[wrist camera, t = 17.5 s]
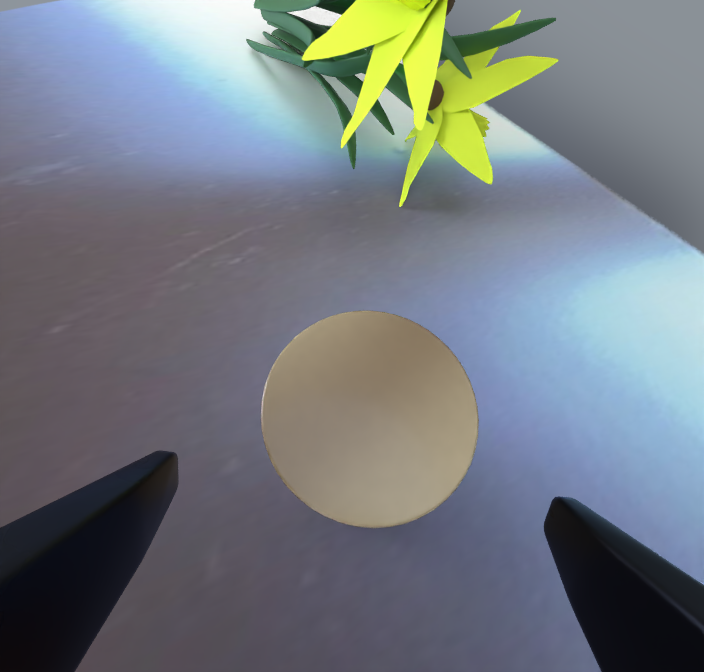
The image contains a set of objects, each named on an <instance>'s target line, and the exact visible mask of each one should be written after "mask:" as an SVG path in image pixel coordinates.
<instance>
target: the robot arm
mask: <svg viewBox="0 0 704 672" xmlns="http://www.w3.org/2000/svg"><path fill="white" fill-rule="evenodd" d="M177 487H178V458H177V454H176V453H174V452H168V451H156V452H154V453H152V454H150V455H148V456H146V457H144V458H141V459H139V460H137V461H135V462H133V463H131V464H129V465H127V466H125V467H123V468H121V469H119V470H117V471H115V472H113V473H111V474H109V475H107V476H105V477H103V478H101V479H99V480H97V481H95V482H93V483H91V484H89V485H87V486H85V487H83V488H81V489H78V490H76V491H74V492H72V493H70V494H68V495H66V496H64V497H62V498H60V499H58V500H56V501H54V502H52V503H50V504H48V505H46V506H44V507H42V508H40V509H38V510H36V511H34V512H32V513H30V514H28V515H26V516H24V517H22V518H19V519H17V520H15V521H13V522H11V523H9V524H7V525H5V526H3V527H1V528H0V672H75V670H76V669H77V667H78V665H79V664H80V662H81V660H82V659H83V657H84V655H85V654H86V652H87V650H88V649H89V647H90V646H91V644H92V642H93V641H94V639H95V637H96V636H97V634H98V632H99V631H100V629H101V627H102V626H103V624H104V623H105V621H106V619H107V618H108V616H109V614H110V613H111V611H112V609H113V608H114V606H115V604H116V603H117V601H118V600H119V598H120V596H121V595H122V593H123V591H124V590H125V588H126V586H127V585H128V583H129V581H130V580H131V578H132V577H133V575H134V573H135V572H136V570H137V568H138V567H139V565H140V563H141V561H142V560H143V558H144V556H145V554H146V552H147V550H148V548H149V546H150V544H151V542H152V540H153V538H154V536H155V534H156V532H157V530H158V528H159V526H160V524H161V521H162V519H163V517H164V515H165V513H166V511H167V509H168V507H169V505H170V503H171V501H172V499H173V497H174V495H175V493H176V490H177ZM544 532H545V536H546V539H547V541H548V544H549V547H550V550H551V552H552V555H553V558H554V561H555V563H556V566H557V569H558V572H559V574H560V577H561V580H562V582H563V585H564V588H565V591H566V593H567V596H568V598H569V601H570V604H571V606H572V608H573V611H574V613H575V615H576V617H577V620H578V622H579V624H580V626H581V628H582V630H583V633H584V635H585V637H586V639H587V641H588V643H589V646H590V648H591V650H592V652H593V654H594V656H595V659H596V661H597V663H598V665H599V667H600V669H601V672H704V585H703V584H701V583H700V582H698V581H697V580H695V579H694V578H692V577H691V576H689V575H688V574H686V573H685V572H683V571H682V570H680V569H679V568H677V567H676V566H674V565H673V564H671V563H670V562H668V561H667V560H665V559H664V558H662V557H661V556H659V555H658V554H656V553H655V552H653V551H652V550H650V549H649V548H647V547H646V546H644V545H643V544H641V543H640V542H639V541H637V540H636V539H634V538H633V537H631V536H630V535H628V534H627V533H625V532H624V531H622V530H621V529H619V528H618V527H616V526H615V525H613V524H612V523H610V522H609V521H607V520H606V519H604V518H603V517H601V516H600V515H598V514H597V513H595V512H594V511H592V510H591V509H589V508H588V507H586V506H585V505H583V504H582V503H580V502H579V501H577V500H576V499H573V498H568V497H560V496H558V497H555V498H554V499H553V500H552V502H551V505H550V508H549V511H548V513H547V516H546V519H545V522H544Z"/></svg>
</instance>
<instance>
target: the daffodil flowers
mask: <svg viewBox="0 0 704 672" xmlns="http://www.w3.org/2000/svg"><path fill="white" fill-rule="evenodd" d="M454 2H455V0H255V3H254V8H257V9H260V10H261V14H262V17H263V19H264V20H266V21H267V24H269V25H272V26H274V27H276V28H279V29H276V30H274V31H273V32H272V35H273V36H272V35H270V34H268V33H267V32H263V35H264V36H265V38H266V39H268V40H269V41H270V42H272V43H274V44H276V45H277V46H279V47H281V48H283V49H284V50H286V51H284V50H280V49H276V48H273V47H269V46H265V45H262V44H259V43H257V42H254V41H252V40H249V39H246V41H247V43H248V44H249V46H250V47H251V48H253V49H254V50H256V51H258V52H261V53H263V54H265V55H268V56H270V57H273V58H276V59H279V60H282V61H285V62H289V63H292V64H295V65H298V66H301V67H303V68H306V69H307V70H308V71H309V72H310V73H311V74H312V75H313V77H314V78H315V79H316V80H317V81H318V82H319V83H320V84H321V86H322V87H323V88H324V90H325V91H326V93H327V94H328V95H329V97H330V98H331V99H332V101H333V102H334V104H335V106H336V108H337V110H338V113H339V116H340V118H341V121H342V124H343V129H344V134H343V137H342V140H341V148H343V147H344V145H345V144H346V143H347V147H348V152H349V157H350V161H351V164H352V167H353V169H355V161H356V134H355V130H356V129H357V127H358V126H359V125H360V123H361V122H362V121H363V119H364V118H365V116H366V115H367V113H368V112H369V111H371V112H372V114H373V115H374V116H375V117H376V118H377V119H378V120H379V122H380V123H381V124H382V125H383V126H384V127H385V128H386V129H387V130H388V131H389V132H390V133H391V134H392V135H394V132H393V129H392V126H391V124H390V122H389V120H388V118H387V115H386V113H385V112H384V110H383V108H382V106H381V105H380V103H379V101H378V97H379V96H380V94H381V93H382V91H383V89H384V88H387V89H388V90H389V91H391V92H392V93H393V94H394V95H395V96H397V97H398V98H399V99H400V100H401V101H403V102H404V103H405V104H406V105H408V106H409V107H410V108H411V109H412V110H414V124H415V127H414V128H413V130H412V131H411V132H410V134H409V135H408V137H407V138H406V140H408V139H411V138H413V137H416V139H415V143H414V146H413V150H412V153H411V156H410V160H409V163H408V167H407V171H406V175H405V180H404V185H403V190H402V195H401V199H400V205H399V207H400V206H401V205H402V204H403V203H404V201H405V199H406V197H407V194H408V190H409V187H410V185H411V183H412V181H413V180H414V178H415V176H416V174H417V173H418V171H419V169H420V167H421V166H422V164H423V162H424V160H425V159H426V157H427V155H428V153H429V152H430V150H431V148H432V146H433V145H434V142H435V140H437V142H438V143H439V145H440V146H441V147H442V148H443V149H444V150H445V151H446V152H447V153H449V154H450V155H451V156H452V157H453V158H454V159H455V160H456V161H457V162H458V163H459V164H461V165H462V166H463V167H464V168H466V169H467V170H468V171H469V172H471V173H472V174H474V175H475V176H477V177H478V178H480V179H481V180H483V181H484V182H486V183H488V184H492V180H493V175H492V167H491V164H490V161H489V158H488V154H487V151H486V147H485V143H484V139H483V137H486V132H485V130H488V129H489V127H488V125H487V124H488V123H490V122H489V121H487V120H486V119H487V118H485V117H483V116H481V115H479V114H477V113H475V112H473V111H472V110H470V109H469V108H474V107H476V106H478V105H480V104H482V103H484V102H486V101H488V100H489V99H492V98H494V97H495V96H497V95H499V94H501V93H503V92H505V91H507V90H509V89H511V88H513V87H515V86H517V85H519V84H521V83H523V82H525V81H527V80H528V79H530V78H532V77H534V76H535V75H537V74H539V73H541V72H542V71H544V70H545V69H547V68H548V67H550V66H552V65H553V64H555V63H556V62H557V61H558V59H555V58H547V57H537V56H523V57H517V58H511V59H506V60H504V61H502V62H499V63H496V64H494V65H492V66H489V67H486V66H487V64H488V63H489V61H490V60H491V58H492V57H493V55H494V54H495V52H496V51H497V49H498V48H499V46H502V45H504V44H508V43H510V42H513V41H515V40H517V39H519V38H521V37H523V36H526V35H528V34H530V33H532V32H535V31H537V30H539V29H541V28H542V27H545V26H547V25H549V24H550V23H552V22H554V21H556V18H547V19H539V20H534V21H530V22H525V23H521V24H516V25H514V23H515V21H516V19H517V18H518V16H519V14H520V11H521V10H519V11H518V12H516V13H515V14H513V15H512V16H510V17H509V18H507V19H506V20H504V21H502V22H500V23H499V24H497V25H495V26H493V27H492V28H491V29H490V30H488V31H484V32H479V33H475V34H468V35H459V36H450V35H449V34H448V32H447V31H446V29H445V28H444V24H445V17H446V16H447V15H448V14H449V12H450V11H451V9H452V7H453V5H454ZM313 6H316V7H319V8H322V9H326V10H329V11H332V12H335V13H338V14H342V16H341V17H340V18H339V19H338V20H337V21H336V22H335V24H334V25H333V26H325V25H319V24H315V23H312V22H310V21H308V20H305V19H303V18H301V17H298V16H295V15H292V14H289V13H287V12H292V11H300V10H306V9H309V8H311V7H313ZM274 36H275V37H274ZM276 37H277V38H276ZM278 38H279V39H281V40H283V41H285V42H287V43H289V44H290V45H292V46H293V47H295V48H296V49H298V50H300V51H301V52H303V53H304V55H303V56H301V55H300V54H299V53H297V52H296V51H295V50H294V49H292V48H291V47H290V46H288V45H287V44H286V43H285V42H283V41H281V40H279V39H278ZM365 49H367V50H365ZM371 50H372V51H371ZM370 51H371V52H370ZM462 57H465V58H464V59H463V58H462ZM401 59H403V64H400V61H401ZM439 60H446V61H445V62H444V64H442V65H441V66H440V67H439V68H438V69H437V67H438V63H439ZM485 67H486V68H485ZM319 73H320V74H323V75H327V76H332V77H336V78H337V79H338V80H339V81H340V82H341V83H343V84H344V85H345V86H346V87H347V88H348V89H349V90H351V91H352V92H353V93H354V94H355V95H356V96H357V97H358V102H357V105H356V108H355V111H354V115H353V117H352V116H351V113H350V112H349V110H348V108H347V106H346V105H345V103H344V102H343V101H342V100H341V98H340V97H339V96H338V94H337V93H336V92H335V90H334V89H333V88H332V86H331V85H330V84H329V83H328V82H327V81H326V80H325V79H324V78H323V77H322V76H321V75H320V74H319ZM359 73H363V74H366V75H365V79H364V82H362V81H361V80H360V79H359V78H358V77H356V76H355V75H356V74H359ZM406 140H405V142H406Z"/></svg>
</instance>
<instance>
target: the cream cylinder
mask: <svg viewBox="0 0 704 672" xmlns="http://www.w3.org/2000/svg"><path fill="white" fill-rule="evenodd" d="M478 423H479V420H478V409H477V403H476V399H475V394H474V391H473V388H472V385H471V383H470V380H469V378H468V376H467V374H466V372H465V370H464V368H463V366H462V365H461V363H460V362H459V360H458V359H457V357H456V356H455V355H454V354H453V352H452V351H451V350H450V349H449V348H448V347H447V346H446V345H445V344H444V343H443V342H442V341H441V340H440V339H439V338H438V337H437V336H435V335H434V334H433V333H431V332H430V331H429V330H427V329H425V328H424V327H422V326H421V325H419V324H417V323H415V322H413V321H411V320H408V319H406V318H403V317H400V316H397V315H394V314H389V313H385V312H378V311H353V312H345V313H341V314H337V315H333V316H331V317H328V318H325V319H323V320H321V321H319V322H317V323H315V324H313V325H311V326H310V327H308V328H307V329H305V330H304V331H302V332H301V333H300V334H299V335H297V336H296V337H295V338H294V339H293V340H292V341H291V342H290V343H289V344H288V345H287V346H286V347H285V349H284V350H283V351H282V352H281V354H280V355H279V357H278V358H277V360H276V361H275V363H274V365H273V367H272V369H271V371H270V373H269V375H268V378H267V381H266V384H265V387H264V392H263V397H262V404H261V426H262V433H263V438H264V443H265V446H266V449H267V452H268V455H269V458H270V460H271V462H272V464H273V466H274V468H275V470H276V472H277V473H278V475H279V476H280V478H281V479H282V480H283V482H284V483H285V485H286V486H287V487H288V488H289V489H290V490H291V491H292V492H293V493H294V494H295V496H296V497H297V498H298V499H300V500H301V501H302V502H304V503H305V504H306V505H307V506H309V507H310V508H311V509H313V510H315V511H316V512H318V513H320V514H321V515H323V516H325V517H327V518H330V519H332V520H335V521H337V522H340V523H343V524H347V525H352V526H356V527H366V528H383V527H392V526H397V525H401V524H406V523H408V522H411V521H413V520H416V519H419V518H421V517H423V516H424V515H426V514H428V513H430V512H431V511H433V510H434V509H436V508H437V507H438V506H439V505H441V504H442V503H443V502H444V501H446V500H447V499H448V498H449V496H450V495H451V494H452V493H453V492H454V491H455V490H456V489H457V487H458V486H459V484H460V483H461V481H462V480H463V478H464V477H465V475H466V473H467V471H468V469H469V467H470V465H471V462H472V459H473V456H474V453H475V450H476V444H477V438H478Z"/></svg>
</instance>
